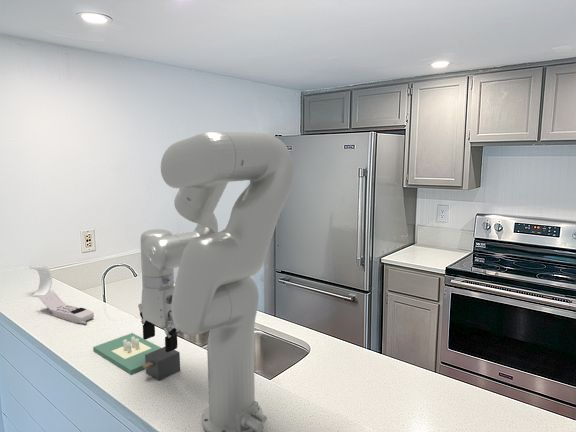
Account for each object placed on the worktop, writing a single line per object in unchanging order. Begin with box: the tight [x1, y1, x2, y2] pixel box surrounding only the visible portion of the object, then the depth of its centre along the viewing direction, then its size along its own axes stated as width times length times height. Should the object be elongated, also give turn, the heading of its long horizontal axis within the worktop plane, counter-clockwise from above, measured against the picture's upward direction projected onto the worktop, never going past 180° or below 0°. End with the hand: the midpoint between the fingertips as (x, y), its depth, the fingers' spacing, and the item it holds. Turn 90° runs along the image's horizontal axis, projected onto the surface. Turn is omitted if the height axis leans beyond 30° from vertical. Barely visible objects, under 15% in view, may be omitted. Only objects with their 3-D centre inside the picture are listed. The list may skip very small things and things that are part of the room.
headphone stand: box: [29, 265, 53, 298], centre depth 165 cm, size 5×6×12 cm
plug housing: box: [142, 346, 181, 382], centre depth 107 cm, size 6×8×5 cm, turn 140°
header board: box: [92, 332, 162, 375], centre depth 117 cm, size 20×12×4 cm, turn 50°
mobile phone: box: [37, 291, 95, 325], centre depth 145 cm, size 6×6×25 cm
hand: (160, 343), depth 108 cm, fingers open, 9 cm apart
